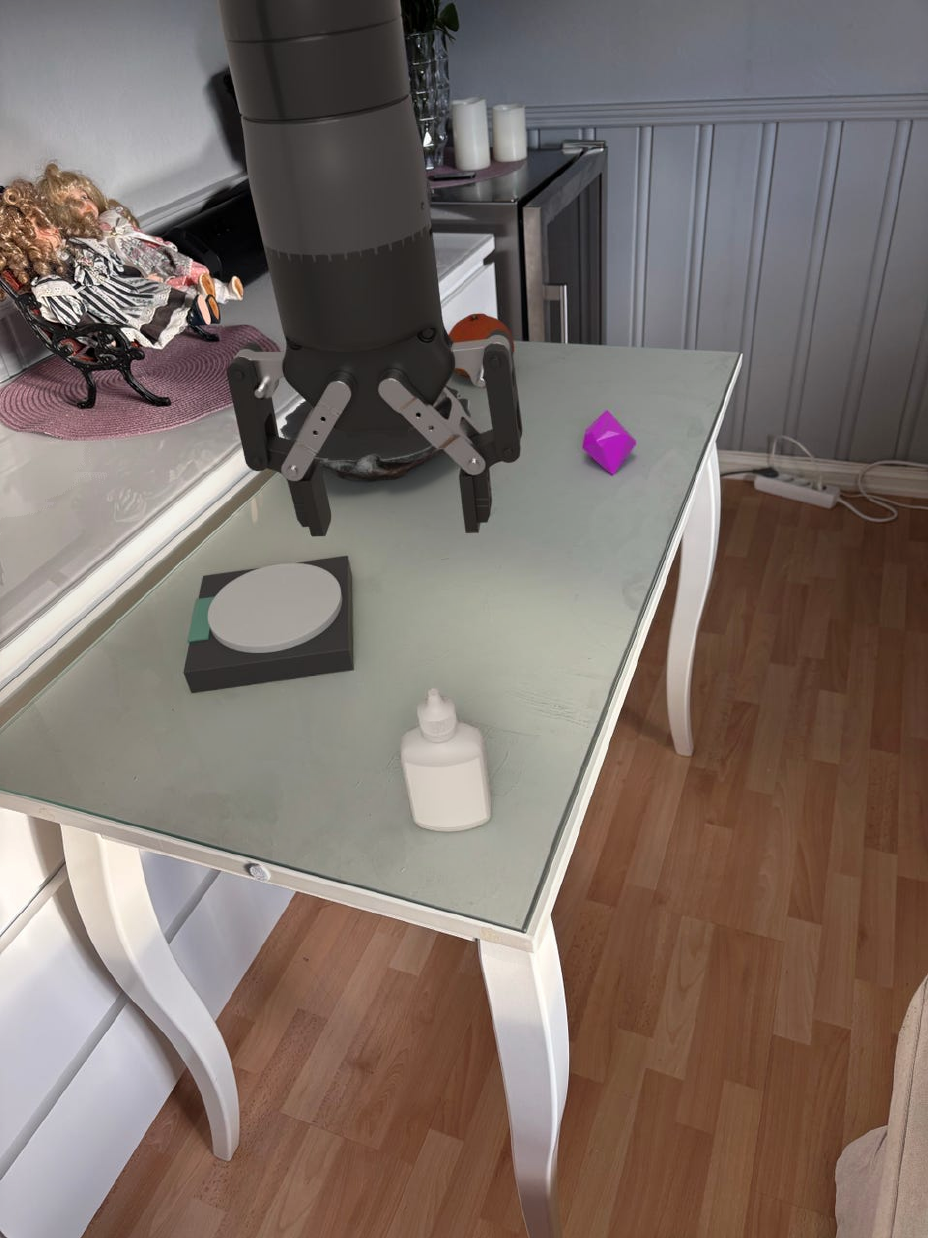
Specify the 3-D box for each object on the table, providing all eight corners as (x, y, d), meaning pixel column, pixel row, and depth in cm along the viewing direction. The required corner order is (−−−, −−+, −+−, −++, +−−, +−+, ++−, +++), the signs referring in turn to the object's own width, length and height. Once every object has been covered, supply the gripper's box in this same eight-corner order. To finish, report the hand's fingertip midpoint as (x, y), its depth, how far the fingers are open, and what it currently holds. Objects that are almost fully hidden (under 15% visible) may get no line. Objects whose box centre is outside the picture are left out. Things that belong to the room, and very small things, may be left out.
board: (344, 403, 119) (337, 366, 116) (501, 417, 112) (498, 378, 109) (256, 490, 104) (245, 450, 101) (431, 513, 96) (426, 471, 93)
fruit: (441, 388, 120) (434, 329, 115) (459, 359, 127) (453, 302, 121) (506, 390, 118) (502, 330, 113) (521, 361, 124) (518, 303, 119)
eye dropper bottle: (472, 850, 62) (454, 728, 55) (403, 822, 65) (377, 702, 57) (501, 804, 65) (488, 682, 58) (434, 779, 68) (413, 659, 60)
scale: (189, 693, 78) (179, 665, 76) (208, 595, 89) (199, 568, 87) (353, 670, 78) (346, 641, 76) (351, 575, 89) (346, 548, 87)
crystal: (576, 461, 102) (575, 424, 99) (610, 443, 104) (610, 406, 101) (609, 477, 99) (610, 439, 96) (644, 458, 101) (645, 421, 98)
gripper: (162, 258, 38) (255, 570, 48) (501, 234, 36) (523, 564, 46) (217, 206, 44) (289, 495, 54) (511, 183, 42) (529, 487, 52)
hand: (397, 526), depth 50 cm, fingers open, 8 cm apart
